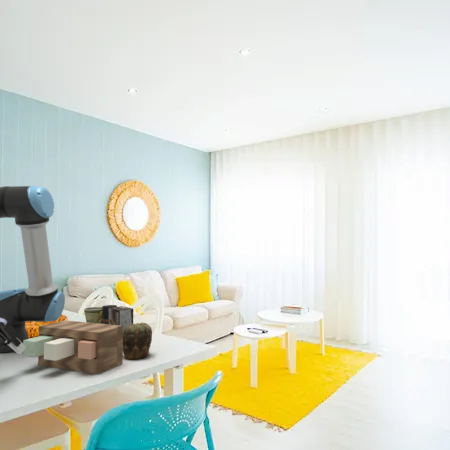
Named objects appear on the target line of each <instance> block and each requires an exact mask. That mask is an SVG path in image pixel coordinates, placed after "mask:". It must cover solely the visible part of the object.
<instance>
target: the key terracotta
mask: <svg viewBox="0 0 450 450" xmlns="http://www.w3.org/2000/svg"><path fill="white" fill-rule="evenodd" d="M96 357H97V340H89V339H86V340H83V341H80V342H78V358H82V359H89V360H91V359H93V358H96Z"/></svg>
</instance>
